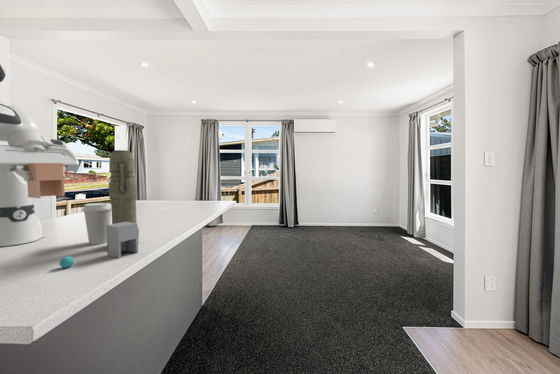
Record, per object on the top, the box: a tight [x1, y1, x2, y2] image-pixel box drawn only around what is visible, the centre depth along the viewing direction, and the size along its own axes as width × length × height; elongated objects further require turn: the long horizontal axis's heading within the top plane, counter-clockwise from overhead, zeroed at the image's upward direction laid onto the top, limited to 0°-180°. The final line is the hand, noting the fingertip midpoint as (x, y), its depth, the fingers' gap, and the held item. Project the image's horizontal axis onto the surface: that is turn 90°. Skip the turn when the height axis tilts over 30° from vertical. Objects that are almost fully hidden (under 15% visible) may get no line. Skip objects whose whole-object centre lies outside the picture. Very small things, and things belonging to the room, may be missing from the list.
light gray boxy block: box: [106, 222, 139, 259], centre depth 87 cm, size 6×6×10 cm
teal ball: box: [59, 255, 75, 269], centre depth 75 cm, size 3×3×3 cm
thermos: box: [108, 149, 140, 244], centre depth 97 cm, size 9×12×35 cm
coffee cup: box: [82, 202, 112, 246], centre depth 101 cm, size 10×10×15 cm
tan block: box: [26, 163, 66, 199], centre depth 79 cm, size 6×6×10 cm
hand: (46, 179), depth 78 cm, fingers closed on tan block, 6 cm apart
